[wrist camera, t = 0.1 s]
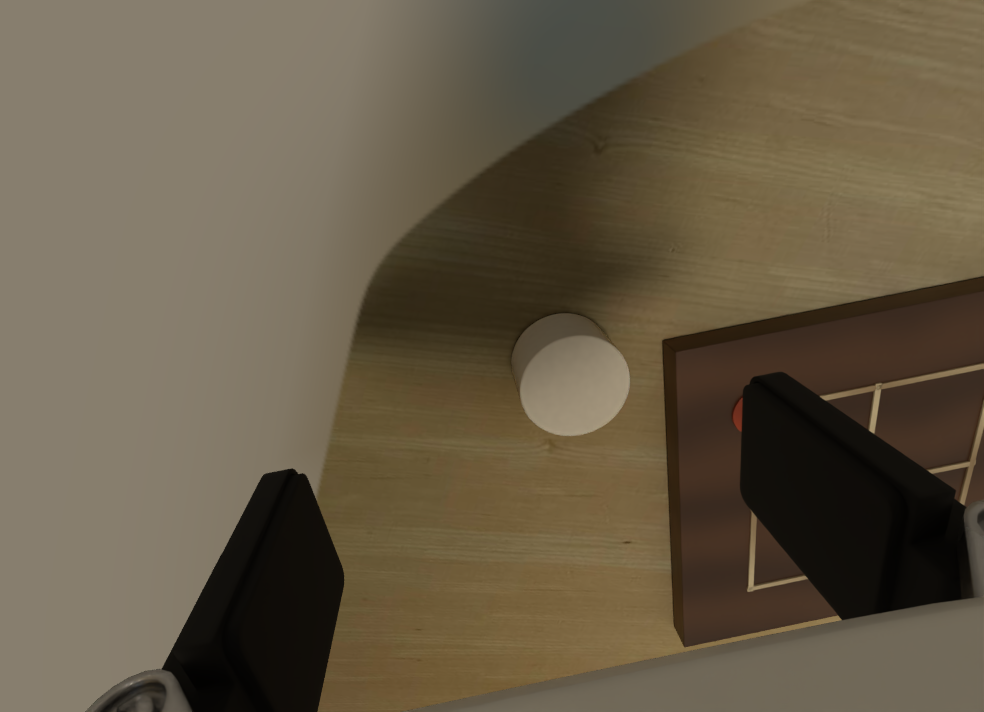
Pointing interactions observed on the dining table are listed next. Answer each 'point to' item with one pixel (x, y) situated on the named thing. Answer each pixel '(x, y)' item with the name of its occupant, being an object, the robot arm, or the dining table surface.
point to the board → (844, 384)
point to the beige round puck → (569, 375)
